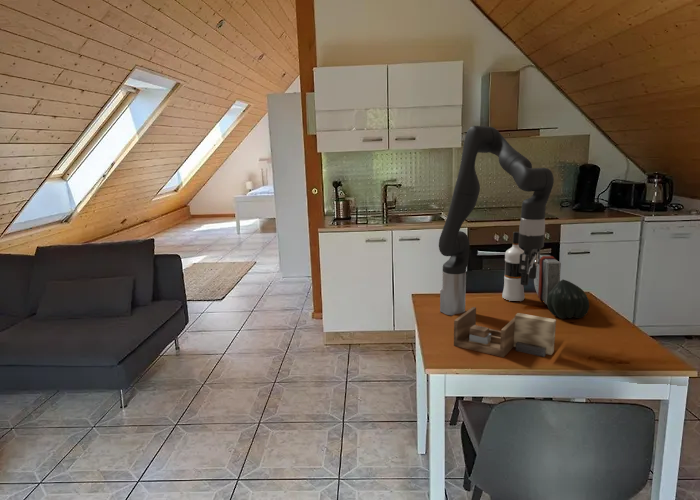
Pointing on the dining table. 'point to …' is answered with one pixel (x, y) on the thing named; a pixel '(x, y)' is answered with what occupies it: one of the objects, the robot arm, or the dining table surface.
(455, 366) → the dining table surface
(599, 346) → the dining table surface
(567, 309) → the squash
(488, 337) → the offcut
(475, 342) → the offcut
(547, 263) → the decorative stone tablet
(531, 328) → the beige rectangular slab
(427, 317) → the dining table surface
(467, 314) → the rack
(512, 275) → the vodka
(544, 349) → the stand
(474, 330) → the offcut
